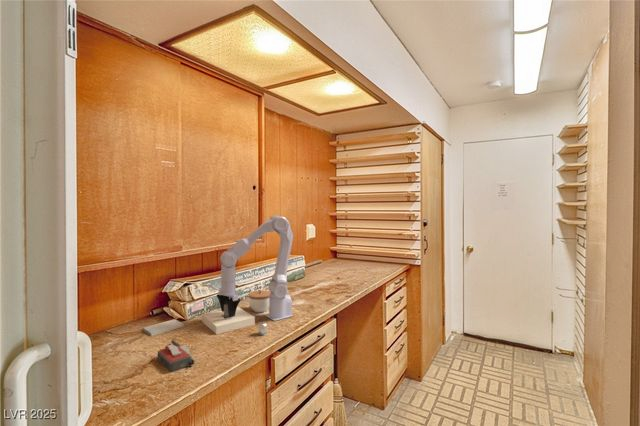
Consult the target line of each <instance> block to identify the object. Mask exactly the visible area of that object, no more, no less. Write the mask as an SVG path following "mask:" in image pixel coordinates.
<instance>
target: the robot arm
mask: <svg viewBox="0 0 640 426" xmlns="http://www.w3.org/2000/svg"><path fill="white" fill-rule="evenodd" d="M272 232H276V234H277V235H279V236H278V237H280V242H279V248H278V253H277V258H276V262H275V268H274V273H273V275H272V277H271V280H270V282H269V283H268V291H269V292H271V293H270V295H269V308H268V309H269V310H268V313H266V314H265V317H267V318H268V319H270V320H272V321H274V322H275V321H276V322H277V321H281V320H283V319H288V318H291V317H293V316H294V315H293V311H292V307H293V304H292V303H293V300H292V298H291V296H290V295H289V294H287V293H288V285H287V283H288V279H287V273H288V272H287V271H288V268H289V262H290V257H291V256H290V255H291V251H292V247H293V240H294V233H293V231H292V227H291V223H290V221H289V220H288V219H287V218H286V217H285V216H281V215H277V214H274V215H272V216H270V218H268V219H266V220H265V221H264V222H263V223H261V224H260V225H259V226H258V227H257V228H256V229H255V230H254V231H253V232H252V233H250V234H249V235H248V236H247V237H246V238H240V239H237V240H236V241H235V242H236V243H235V244H233V245H232V246H231V247H227V250H226V251H223V252H222V253H221V256H220V258H219V259H220V262H221V266H220V267H221V270H220V287H219V288H218V292H217V294H216V298H217V299H218V301H219V305H220V310H222V312H223V311H224V304H225V303H227V306H228V313H229V317H233V316H235V313H236V309H237V307H239V304H240V302H241V299H240V298H239V295H238V293H237V290H236V265H237V261H238V260H239V259H241V258H242V257H243V256H244V255H245V254H246V253H248V252H249V251H250V250H251V248H252V245H253V243H255V242H256V241H258V240H259V239H260V238H262V237H263V236H264V235H265V234H266V233H272Z"/></svg>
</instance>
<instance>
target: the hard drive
mask: <svg viewBox="0 0 640 426" xmlns="http://www.w3.org/2000/svg"><path fill="white" fill-rule="evenodd" d="M183 327H185V324H184V323H183V322H180V321H179V320H177V319H175V318H173V319H170V320H167V321H163V322H160V323H156V324H151V325H148V326H144V327H142V331H143V332H144V333H145V334H148V335H149V336H150V337H153V336H157V335H159V334H160V335H161V334H163V333H166V332H170V331H173V330H177V329H180V328H183Z"/></svg>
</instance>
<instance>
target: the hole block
mask: <svg viewBox="0 0 640 426" xmlns="http://www.w3.org/2000/svg"><path fill="white" fill-rule="evenodd" d="M201 323H202V324H204V325H205V326H206V327H207V328H209V330H211V331H212V332H213V333H214V334H215V335H220V334H223V333H227V332H231V331H235V330H240V329H243V328H247V327H251V326H254V325H256V316H254V315H252V314H250V313H249V312H248V311H245V310H243V309H242V308H241V307H239V306H237V309H236V313H235V316H233V317H230V318H226V319H225V318H224V311H223V312H222V310H221V309H220V310H217V311H211V312H207V313H201Z"/></svg>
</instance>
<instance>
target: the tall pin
mask: <svg viewBox="0 0 640 426" xmlns="http://www.w3.org/2000/svg"><path fill="white" fill-rule="evenodd" d="M224 318H225V319H226V318H230V317H229V313H228V306H227V303H225V304H224Z"/></svg>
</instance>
